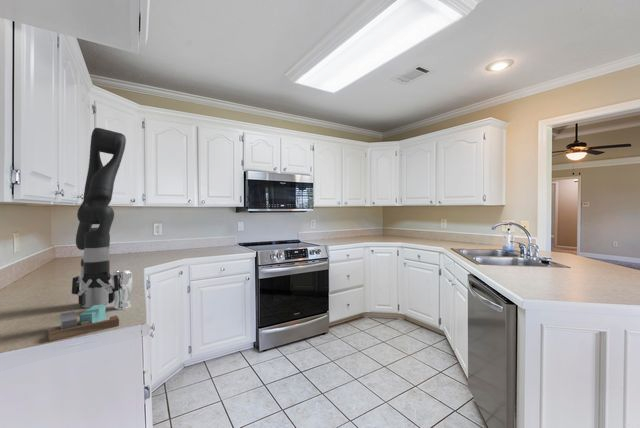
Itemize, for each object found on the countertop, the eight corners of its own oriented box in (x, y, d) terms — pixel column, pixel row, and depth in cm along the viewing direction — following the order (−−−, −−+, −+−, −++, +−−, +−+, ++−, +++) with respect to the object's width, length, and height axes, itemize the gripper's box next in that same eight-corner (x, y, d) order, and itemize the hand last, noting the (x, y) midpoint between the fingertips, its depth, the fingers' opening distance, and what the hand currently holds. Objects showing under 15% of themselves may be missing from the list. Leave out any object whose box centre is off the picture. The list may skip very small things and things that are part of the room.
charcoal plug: (60, 326, 100) (60, 312, 100) (73, 323, 102) (73, 310, 102) (62, 337, 92) (62, 321, 92) (77, 334, 94) (77, 319, 94)
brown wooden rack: (48, 336, 91) (48, 329, 91) (116, 321, 104) (116, 315, 104) (48, 341, 88) (48, 333, 88) (118, 325, 101) (118, 318, 101)
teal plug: (96, 316, 109) (96, 303, 109) (107, 316, 110) (107, 303, 110) (79, 328, 98) (79, 314, 98) (92, 327, 99) (92, 313, 99)
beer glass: (129, 303, 125) (129, 269, 125) (134, 307, 120) (135, 271, 120) (110, 307, 119) (110, 271, 119) (115, 311, 115) (115, 274, 115)
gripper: (67, 262, 98) (67, 309, 98) (115, 260, 102) (115, 305, 102) (78, 259, 105) (79, 303, 105) (123, 257, 110) (123, 299, 110)
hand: (97, 303), depth 104 cm, fingers open, 8 cm apart
